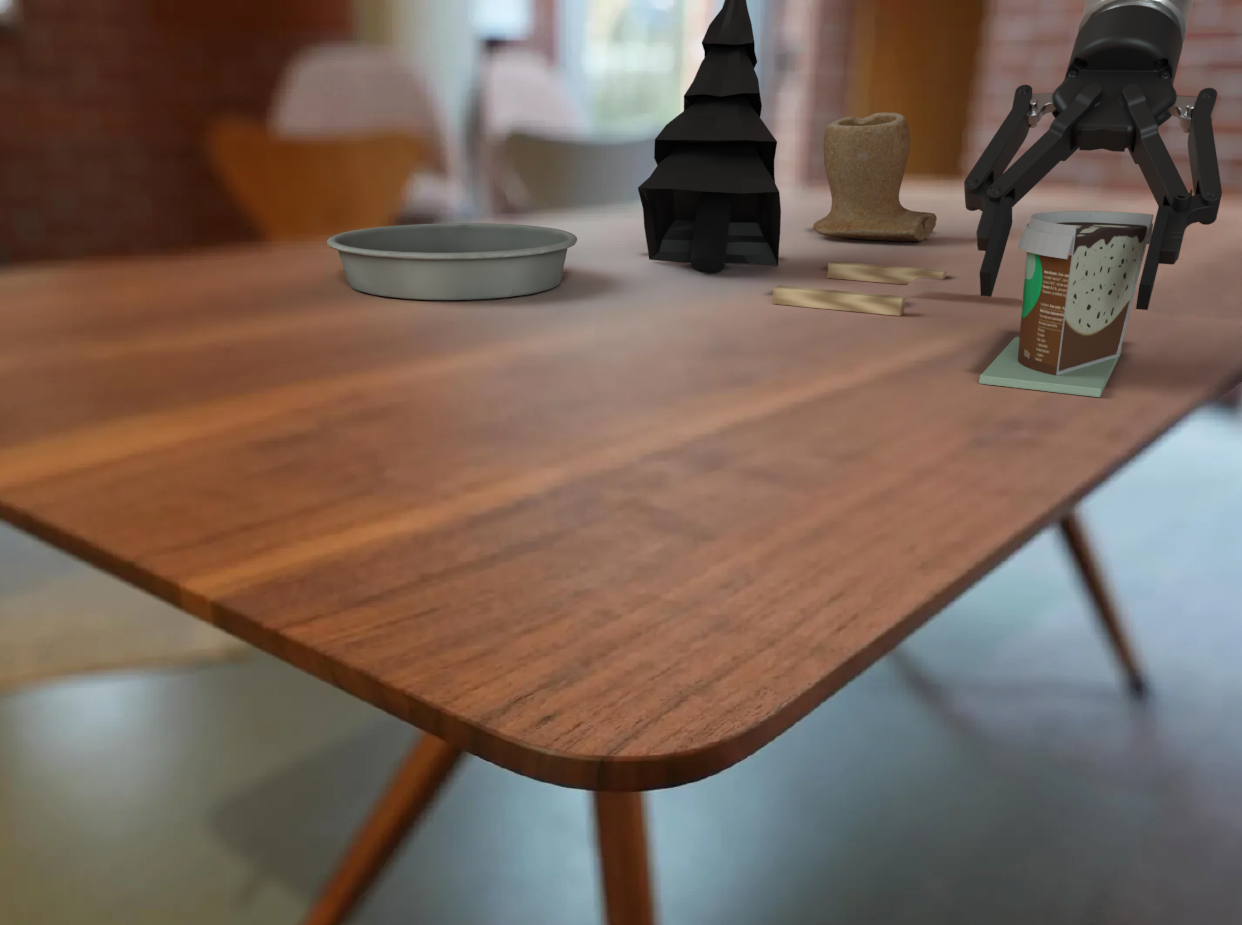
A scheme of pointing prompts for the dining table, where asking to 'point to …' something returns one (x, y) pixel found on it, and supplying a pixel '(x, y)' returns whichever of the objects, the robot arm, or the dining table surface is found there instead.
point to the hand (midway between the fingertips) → (1062, 290)
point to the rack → (856, 299)
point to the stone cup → (870, 180)
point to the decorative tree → (716, 162)
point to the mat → (1046, 375)
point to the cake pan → (453, 260)
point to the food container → (1079, 286)
